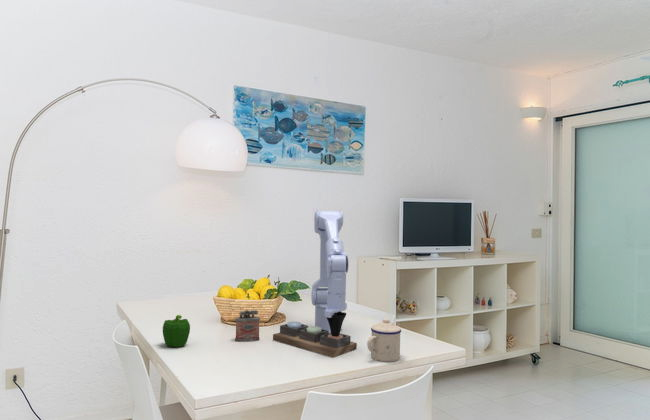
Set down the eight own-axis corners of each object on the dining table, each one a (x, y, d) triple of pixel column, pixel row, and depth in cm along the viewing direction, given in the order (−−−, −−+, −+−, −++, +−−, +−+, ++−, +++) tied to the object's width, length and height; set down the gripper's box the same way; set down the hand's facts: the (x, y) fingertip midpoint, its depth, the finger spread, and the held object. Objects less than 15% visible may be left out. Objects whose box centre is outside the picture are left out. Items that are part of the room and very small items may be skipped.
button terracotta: (334, 338, 154) (334, 332, 154) (345, 341, 151) (346, 335, 151) (324, 341, 150) (324, 335, 150) (336, 344, 147) (336, 338, 147)
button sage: (313, 330, 160) (313, 325, 160) (324, 333, 156) (324, 328, 156) (303, 333, 156) (303, 328, 156) (314, 336, 153) (314, 330, 153)
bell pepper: (161, 342, 154) (162, 311, 154) (188, 340, 157) (189, 310, 157) (162, 350, 146) (163, 317, 146) (190, 348, 149) (191, 316, 149)
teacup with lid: (384, 351, 151) (385, 314, 151) (406, 358, 144) (407, 320, 144) (357, 358, 143) (358, 319, 143) (378, 366, 136) (379, 325, 136)
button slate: (294, 326, 165) (294, 320, 165) (304, 328, 162) (304, 323, 162) (284, 328, 162) (284, 323, 162) (294, 331, 159) (294, 325, 159)
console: (297, 333, 169) (297, 320, 169) (356, 349, 152) (356, 334, 152) (272, 340, 160) (273, 326, 160) (332, 357, 143) (333, 342, 143)
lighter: (235, 342, 157) (236, 311, 157) (234, 339, 160) (235, 309, 160) (260, 341, 159) (260, 310, 159) (258, 338, 162) (259, 308, 162)
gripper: (333, 288, 159) (331, 329, 159) (315, 295, 145) (314, 339, 145) (353, 290, 156) (352, 331, 156) (337, 297, 142) (336, 342, 142)
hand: (335, 335), depth 150 cm, fingers closed, pressing on button terracotta
